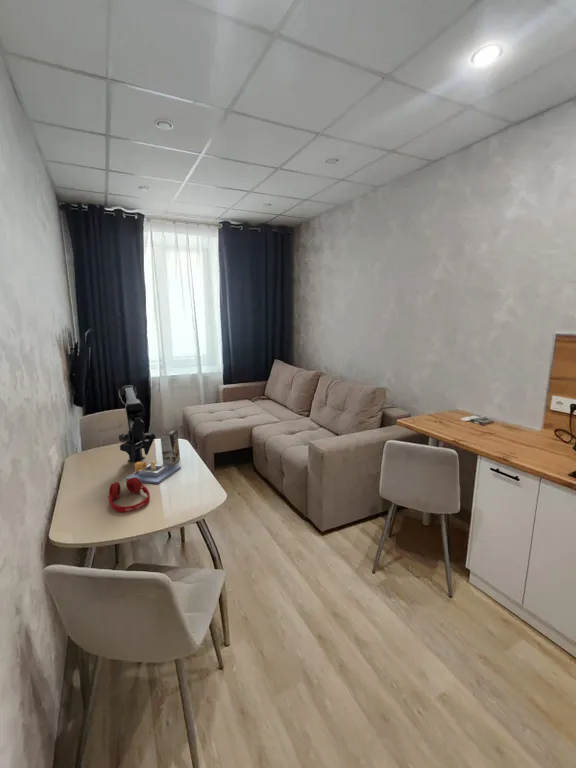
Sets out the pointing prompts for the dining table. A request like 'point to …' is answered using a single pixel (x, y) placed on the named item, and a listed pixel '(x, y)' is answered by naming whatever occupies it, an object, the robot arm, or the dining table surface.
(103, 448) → the dining table surface
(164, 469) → the grey frame with tab
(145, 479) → the keeper
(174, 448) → the coffee box
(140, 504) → the headphones
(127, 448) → the robot arm
